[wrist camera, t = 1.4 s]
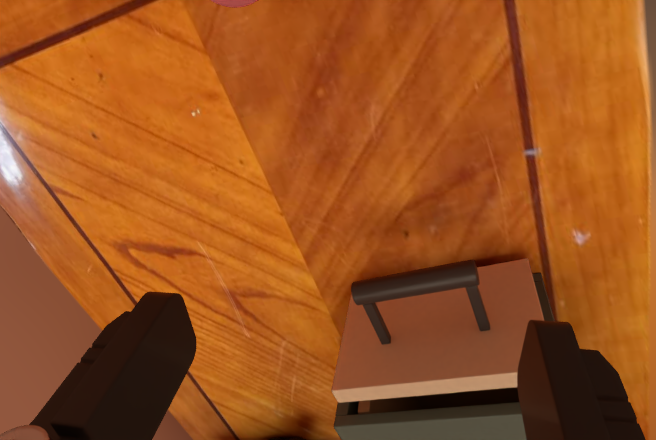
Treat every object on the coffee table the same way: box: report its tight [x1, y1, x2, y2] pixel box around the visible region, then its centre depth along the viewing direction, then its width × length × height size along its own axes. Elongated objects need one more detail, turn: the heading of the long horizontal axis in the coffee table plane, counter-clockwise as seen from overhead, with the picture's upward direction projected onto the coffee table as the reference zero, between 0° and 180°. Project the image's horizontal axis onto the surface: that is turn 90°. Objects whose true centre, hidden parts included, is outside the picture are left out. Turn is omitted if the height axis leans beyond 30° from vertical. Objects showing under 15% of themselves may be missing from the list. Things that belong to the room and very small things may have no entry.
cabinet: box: [334, 273, 555, 440], centre depth 34 cm, size 16×14×11 cm
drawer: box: [332, 259, 544, 414], centre depth 31 cm, size 19×12×9 cm, turn 23°
